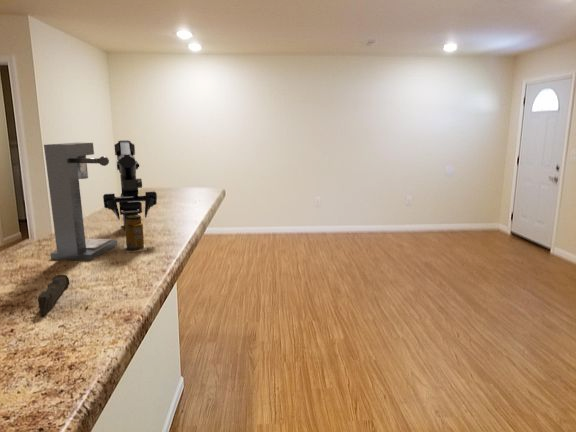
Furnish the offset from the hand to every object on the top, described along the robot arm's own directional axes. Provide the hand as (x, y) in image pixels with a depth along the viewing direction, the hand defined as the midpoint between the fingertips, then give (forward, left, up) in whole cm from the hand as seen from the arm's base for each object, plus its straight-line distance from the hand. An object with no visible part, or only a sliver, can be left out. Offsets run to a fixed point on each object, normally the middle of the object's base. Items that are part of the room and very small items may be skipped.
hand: (132, 218), depth 148 cm
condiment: (+3, -2, -11) cm, 11 cm away
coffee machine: (-4, -13, -11) cm, 17 cm away
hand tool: (+24, -42, -11) cm, 49 cm away
